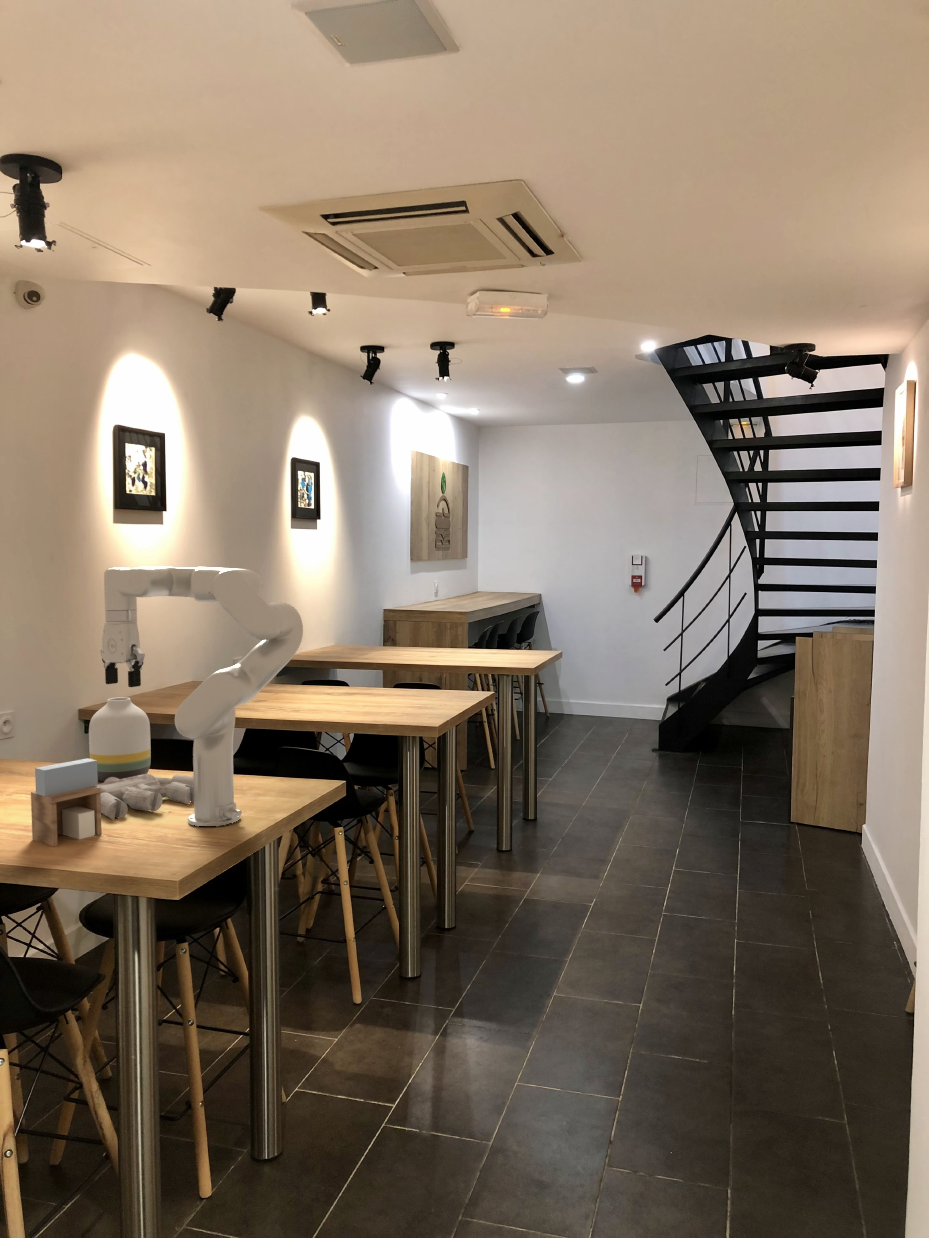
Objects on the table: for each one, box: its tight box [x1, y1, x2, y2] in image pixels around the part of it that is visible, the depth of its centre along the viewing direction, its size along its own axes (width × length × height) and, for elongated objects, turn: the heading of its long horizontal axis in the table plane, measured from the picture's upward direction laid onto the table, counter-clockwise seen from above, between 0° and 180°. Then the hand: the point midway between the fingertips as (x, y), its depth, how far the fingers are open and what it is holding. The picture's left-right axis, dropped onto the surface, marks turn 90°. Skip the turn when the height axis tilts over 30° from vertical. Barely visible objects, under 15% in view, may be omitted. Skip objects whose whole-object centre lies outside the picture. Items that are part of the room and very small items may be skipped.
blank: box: [34, 757, 99, 796], centre depth 217 cm, size 13×4×6 cm, turn 142°
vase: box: [88, 696, 152, 783], centre depth 274 cm, size 17×17×24 cm
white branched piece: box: [97, 773, 194, 820], centre depth 250 cm, size 31×7×30 cm
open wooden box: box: [30, 786, 103, 847], centre depth 217 cm, size 9×12×11 cm
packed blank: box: [62, 806, 96, 840], centre depth 219 cm, size 7×4×6 cm, turn 53°
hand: (123, 685), depth 234 cm, fingers open, 9 cm apart
